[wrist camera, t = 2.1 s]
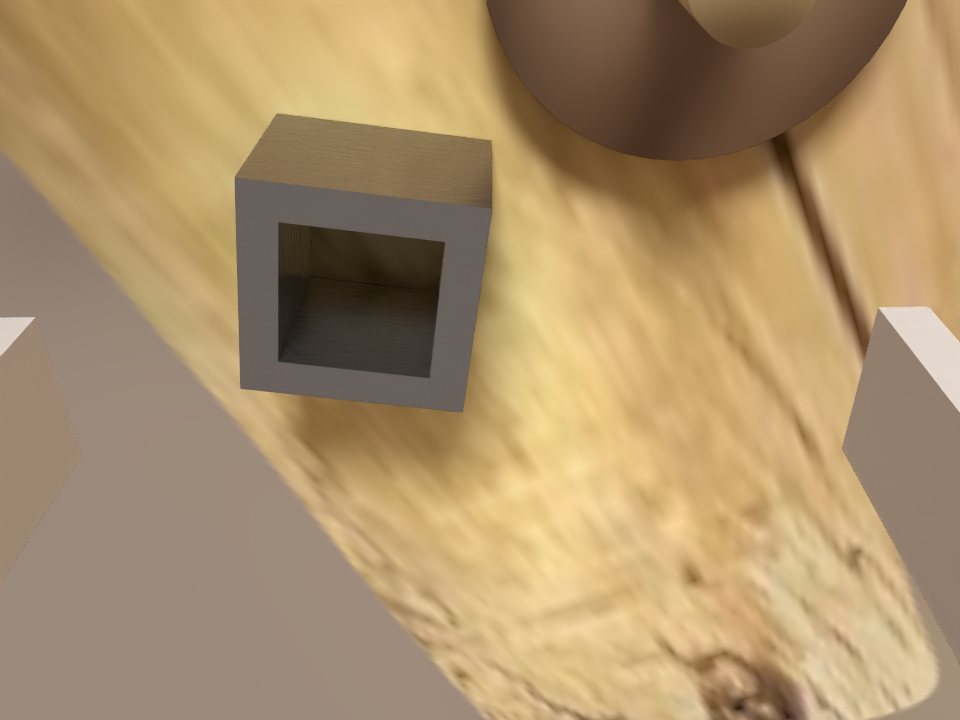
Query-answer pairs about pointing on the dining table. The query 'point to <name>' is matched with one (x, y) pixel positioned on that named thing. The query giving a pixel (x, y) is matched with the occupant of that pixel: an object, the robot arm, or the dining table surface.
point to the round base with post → (688, 66)
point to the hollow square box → (350, 305)
